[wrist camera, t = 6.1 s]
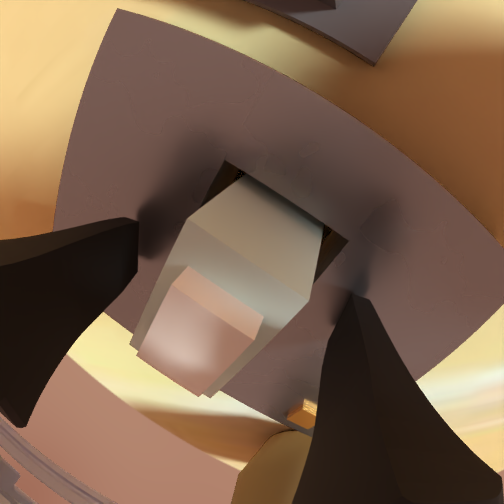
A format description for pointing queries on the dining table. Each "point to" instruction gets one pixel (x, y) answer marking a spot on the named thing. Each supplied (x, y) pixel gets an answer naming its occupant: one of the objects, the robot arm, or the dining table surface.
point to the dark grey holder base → (347, 21)
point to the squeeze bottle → (273, 470)
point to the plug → (228, 286)
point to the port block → (283, 182)
